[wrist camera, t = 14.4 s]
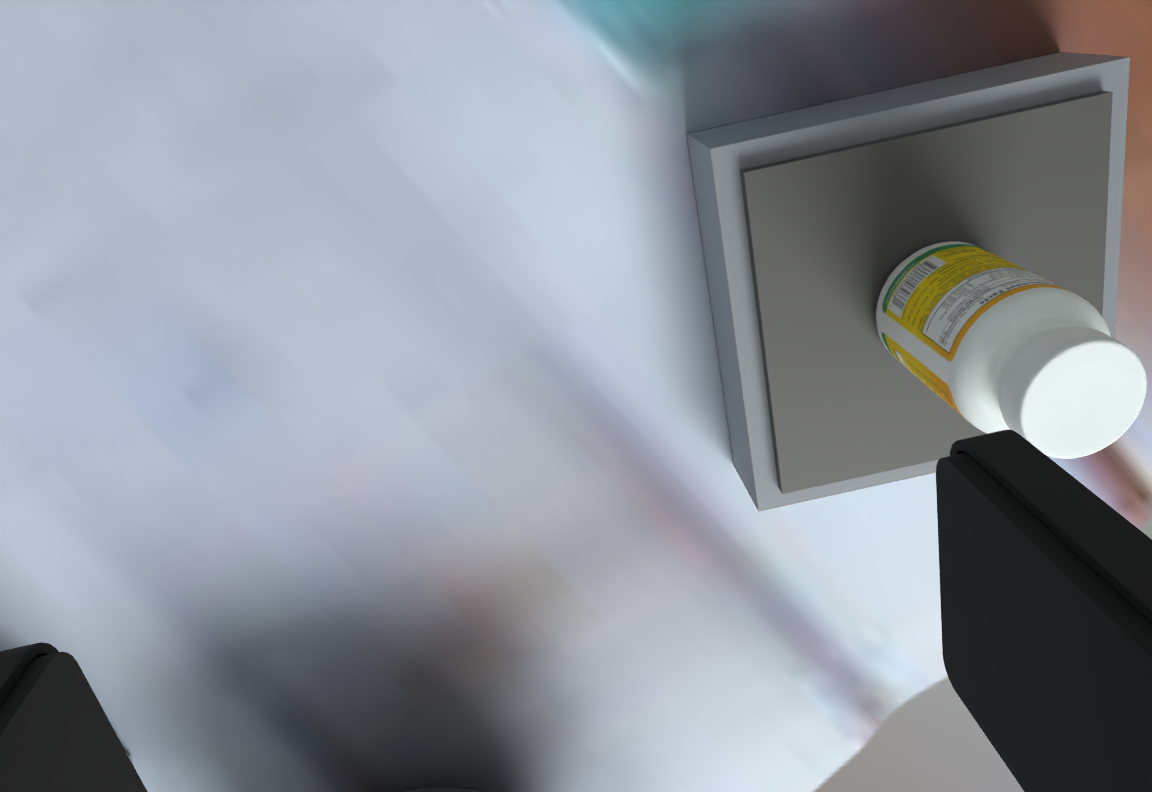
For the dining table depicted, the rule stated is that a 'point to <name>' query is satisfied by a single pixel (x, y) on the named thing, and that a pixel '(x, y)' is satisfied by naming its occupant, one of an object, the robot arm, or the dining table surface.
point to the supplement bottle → (1010, 349)
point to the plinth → (891, 251)
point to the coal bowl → (440, 790)
